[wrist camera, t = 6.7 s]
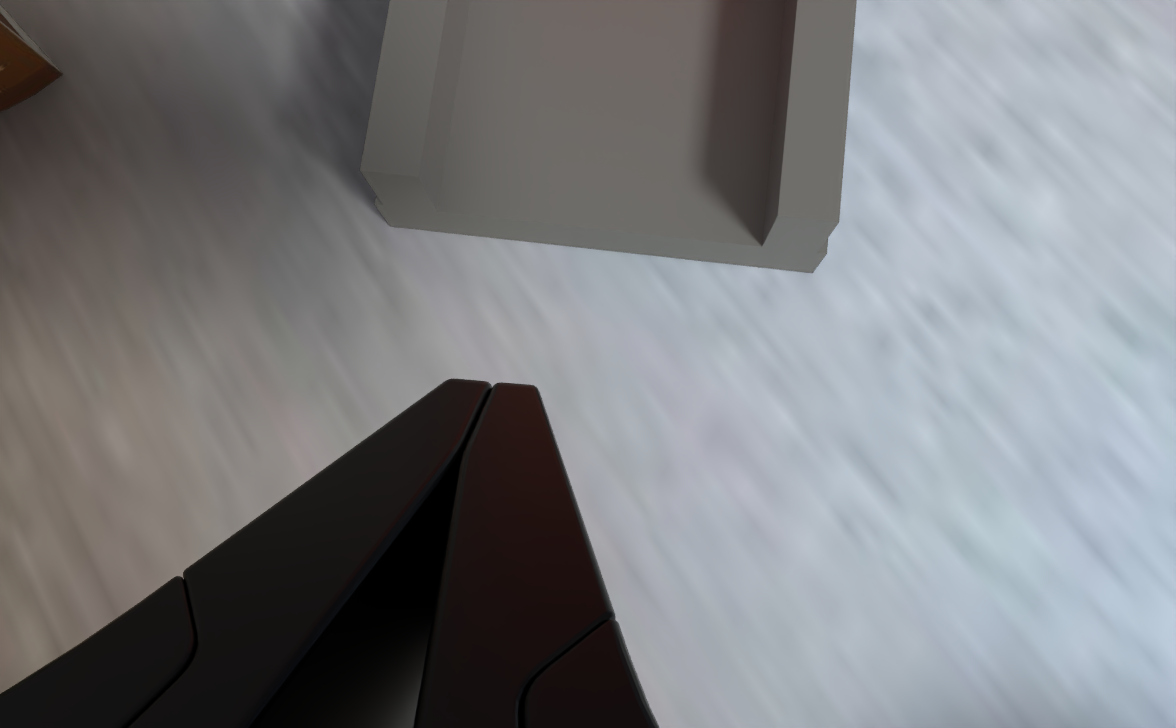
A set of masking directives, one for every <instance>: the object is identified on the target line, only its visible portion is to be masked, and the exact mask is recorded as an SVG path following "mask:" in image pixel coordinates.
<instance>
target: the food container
mask: <svg viewBox="0 0 1176 728" xmlns="http://www.w3.org/2000/svg"><path fill="white" fill-rule="evenodd" d="M61 75H63V73H62V72H61V71H60V70H59V69H58V68H57V67H56V66H55V65H54V63H53V62H52V61H51V60H50V59H49V58H48V57H47V56H46V55H45V54H44V52H43V51H42V50H41V49H40V48H39V47H38V46H37V45H36V44H35V42H34V41H33V40H32V39H31V38H30V37H29V36H28V35H27V34H26V33H25V31H24V30H23V29H22V28H21V27H20V26H19V25H18V24H17V23H16V22H15V20H14V19H13V18H12V17H11V16H10V15H9V14H8V13H7V12H6V11H5V9H4V8H3V7H2V6H1V5H0V112H1V111H4V110H7V109H9V108H11V107H12V106H14V105H16V104H18V103H20V102H22V101H24V100H26V99H27V98H29V97H31V96H33V95H35V94H36V93H38V92H39V91H41V90H42V89H43V88H45V87H46V86H47V85H49V84H50V83H52V82H53V81H54V80H56V79H57V78H58V77H60V76H61Z"/></svg>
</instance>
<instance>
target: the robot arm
mask: <svg viewBox="0 0 1176 728" xmlns="http://www.w3.org/2000/svg"><path fill="white" fill-rule="evenodd" d="M183 578H184V579H183ZM183 578H182V577H180V576H176V577H174V578H173V579H171V580H170V581H168V582H167V583H166V584H164V585H163V586H161V587H160V588H159V589H157V590H156V591H155V592H153V593H152V594H150V595H149V596H148V597H146V598H145V599H144V600H142V601H141V602H139V603H138V604H137V605H135V606H134V607H132V608H131V609H129V610H128V611H126V612H125V613H123V614H122V615H121V616H119V617H118V618H116V619H115V620H113V621H112V622H110V623H109V624H108V625H106V626H105V627H103V628H102V629H100V630H99V631H97V632H96V633H95V634H93V635H92V636H90V637H89V638H87V639H86V640H84V641H83V642H82V643H80V644H78V645H77V646H75V647H74V648H72V649H71V650H69V651H67V652H66V653H64V654H63V655H61V656H60V657H58V658H56V659H55V660H53V661H52V662H50V663H48V664H47V665H45V666H44V667H42V668H41V669H39V670H37V671H36V672H34V673H33V674H31V675H30V676H28V677H26V678H25V679H23V680H22V681H20V682H19V683H17V684H15V685H14V686H12V687H11V688H9V689H7V690H6V691H4V692H2V693H1V694H0V728H659V725H658V723H657V721H656V719H655V717H654V715H653V713H652V711H651V709H650V707H649V704H648V702H647V699H646V697H645V694H644V691H643V689H642V686H641V684H640V681H639V679H638V676H637V673H636V671H635V668H634V666H633V663H632V661H631V658H630V655H629V653H628V650H627V647H626V644H625V641H624V638H623V635H622V632H621V629H620V626H619V624H618V622H617V621H616V620H615V613H614V610H613V607H612V604H611V601H610V598H609V595H608V592H607V589H606V586H605V584H604V581H603V578H602V575H601V572H600V569H599V566H598V563H597V560H596V557H595V554H594V551H593V548H592V545H591V542H590V539H589V536H588V534H587V531H586V528H585V525H584V522H583V519H582V516H581V513H580V510H579V507H578V504H577V501H576V498H575V495H574V492H573V489H572V486H571V483H570V481H569V478H568V475H567V472H566V469H565V466H564V463H563V460H562V457H561V454H560V451H559V448H558V445H557V442H556V439H555V436H554V433H553V430H552V428H551V425H550V422H549V419H548V416H547V413H546V410H545V407H544V404H543V401H542V398H541V395H540V392H539V390H538V389H537V387H535V386H533V385H525V384H512V383H497V384H495V385H494V386H493V387H492V386H491V384H490V383H488V382H486V381H476V380H464V379H449V380H447V381H445V382H443V383H442V384H440V385H439V386H438V387H436V388H435V389H434V390H432V391H431V392H429V393H428V394H427V395H425V396H424V397H423V398H421V399H420V400H418V401H417V402H416V403H414V404H413V405H412V406H410V407H409V408H407V409H406V410H405V411H403V412H402V413H401V414H399V415H398V416H396V417H395V418H394V419H392V420H391V421H389V422H388V423H387V424H385V425H384V426H383V427H381V428H380V429H378V430H377V431H376V432H374V433H373V434H372V435H370V436H369V437H367V438H366V439H365V440H363V441H362V442H361V443H359V444H358V445H356V446H355V447H354V448H352V449H351V450H350V451H348V452H347V453H345V454H344V455H343V456H341V457H340V458H338V459H337V460H336V461H334V462H333V463H332V464H330V465H329V466H327V467H326V468H325V469H323V470H322V471H321V472H319V473H318V474H316V475H315V476H314V477H312V478H311V479H310V480H308V481H307V482H305V483H304V484H303V485H301V486H300V487H298V488H297V489H296V490H294V491H293V492H292V493H290V494H289V495H287V496H286V497H285V498H283V499H282V500H281V501H279V502H278V503H276V504H275V505H274V506H272V507H271V508H270V509H268V510H267V511H265V512H264V513H263V514H261V515H260V516H259V517H257V518H256V519H254V520H253V521H252V522H250V523H249V524H247V525H246V526H245V527H243V528H242V529H241V530H239V531H238V532H236V533H235V534H234V535H232V536H231V537H230V538H228V539H227V540H225V541H224V542H223V543H221V544H220V545H219V546H217V547H216V548H214V549H213V550H212V551H210V552H209V553H208V554H206V555H205V556H203V557H202V558H201V559H199V560H198V561H196V562H195V563H194V564H192V565H191V566H190V567H188V568H187V569H186V570H185V571H184V572H183Z"/></svg>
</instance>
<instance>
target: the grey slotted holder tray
mask: <svg viewBox="0 0 1176 728" xmlns="http://www.w3.org/2000/svg"><path fill="white" fill-rule="evenodd" d="M855 13H856V0H390V3H389V8H388V14H387V20H386V25H385V31H384V37H383V42H382V48H381V54H380V59H379V65H378V70H377V76H376V82H375V87H374V93H373V99H372V104H371V110H370V116H369V121H368V127H367V133H366V138H365V144H364V150H363V155H362V161H361V167H360V172H361V173H362V174H363V176H364V177H365V179H366V180H367V182H368V183H369V185H370V186H371V188H372V189H373V191H374V192H375V194H376V199H375V206H376V207H377V208H378V210H379V211H380V213H381V214H382V216H383V217H384V218H385V220H386V221H387V223H388V224H389V225H390V226H391V227H400V228H409V229H418V230H427V231H436V232H445V233H454V234H463V235H472V236H481V237H490V238H499V239H508V240H518V241H527V242H536V243H545V244H554V245H563V246H572V247H581V248H590V249H599V250H608V251H617V252H626V253H635V254H644V255H653V256H662V257H671V258H680V259H689V260H698V261H707V262H716V263H725V264H734V265H743V266H752V267H761V268H770V269H779V270H788V271H797V272H807V273H813V272H814V271H815V269H816V268H817V267H818V265H819V264H820V262H821V261H822V260H823V258H824V257H825V256H826V254H827V245H828V237H829V236H830V234H831V233H832V231H833V230H834V229H835V227H836V226H837V224H838V223H839V216H840V203H841V190H842V178H843V165H844V152H845V140H846V127H847V114H848V102H849V89H850V76H851V64H852V51H853V38H854V26H855Z"/></svg>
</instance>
